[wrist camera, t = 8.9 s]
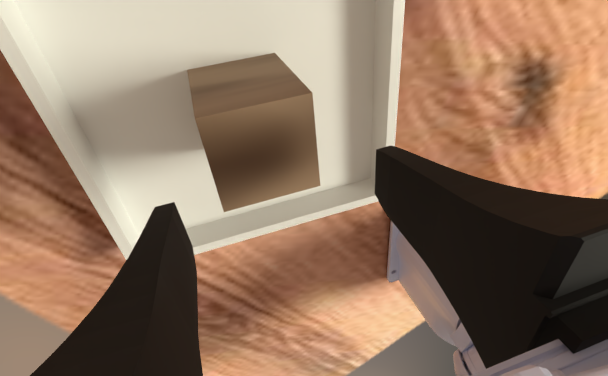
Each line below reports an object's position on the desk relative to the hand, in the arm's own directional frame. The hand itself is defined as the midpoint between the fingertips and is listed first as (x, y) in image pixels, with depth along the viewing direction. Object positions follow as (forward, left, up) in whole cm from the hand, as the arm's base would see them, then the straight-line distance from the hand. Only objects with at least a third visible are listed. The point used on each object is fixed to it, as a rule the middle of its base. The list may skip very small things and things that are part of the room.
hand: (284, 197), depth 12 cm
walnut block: (0, 0, -9) cm, 9 cm away
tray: (0, 0, -9) cm, 9 cm away
